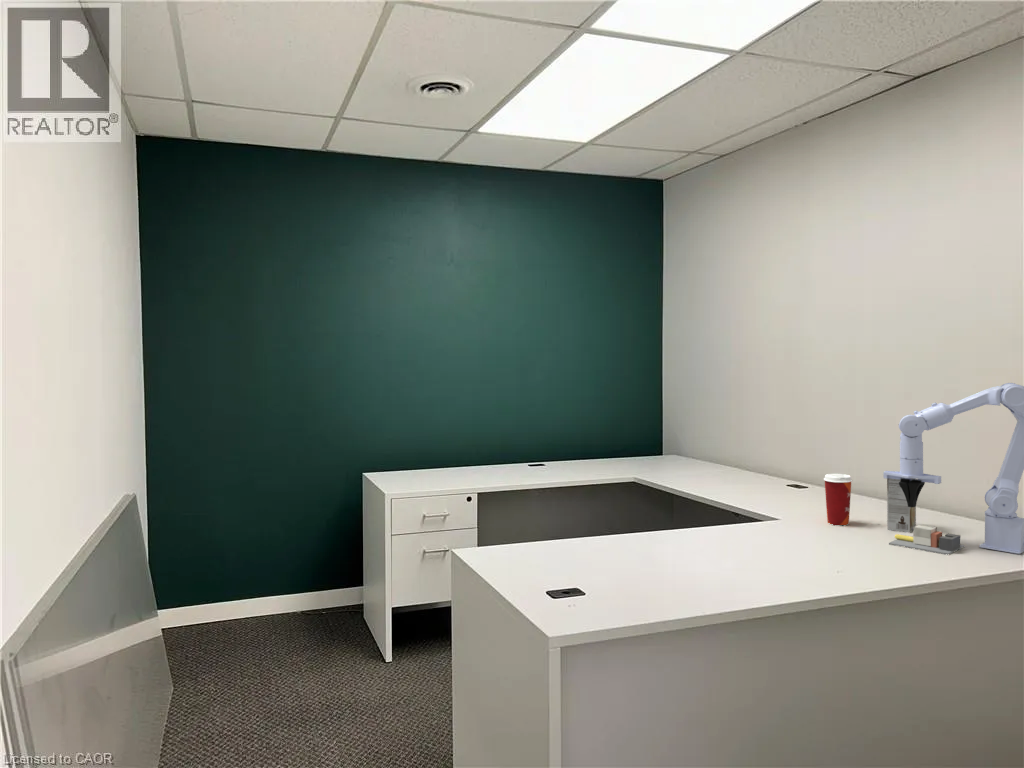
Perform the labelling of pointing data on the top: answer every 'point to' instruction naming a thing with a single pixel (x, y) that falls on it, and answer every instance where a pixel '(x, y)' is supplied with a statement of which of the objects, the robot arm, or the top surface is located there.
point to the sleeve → (923, 534)
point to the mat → (921, 546)
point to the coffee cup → (838, 498)
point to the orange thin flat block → (935, 538)
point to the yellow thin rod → (905, 538)
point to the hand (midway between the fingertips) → (911, 506)
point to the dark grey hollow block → (949, 542)
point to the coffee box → (899, 508)
